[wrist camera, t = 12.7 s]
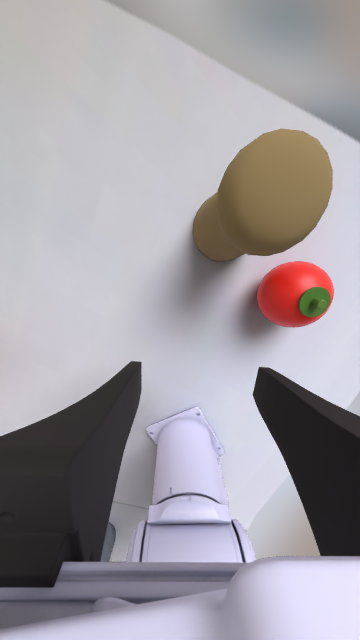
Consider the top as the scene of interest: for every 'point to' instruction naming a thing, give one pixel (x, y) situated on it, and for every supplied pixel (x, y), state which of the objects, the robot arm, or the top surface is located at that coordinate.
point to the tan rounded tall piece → (266, 197)
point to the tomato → (295, 294)
